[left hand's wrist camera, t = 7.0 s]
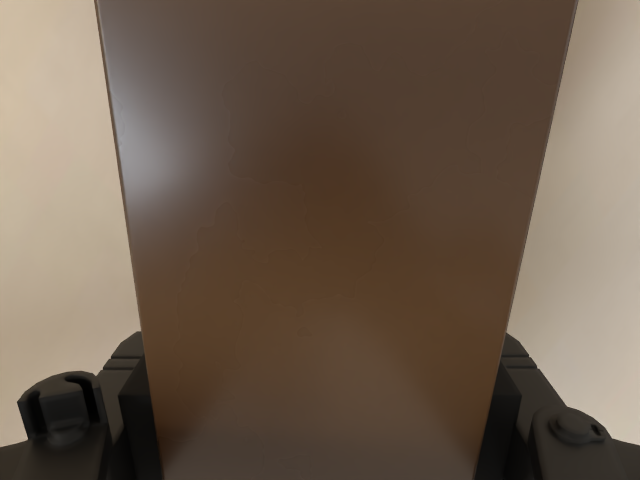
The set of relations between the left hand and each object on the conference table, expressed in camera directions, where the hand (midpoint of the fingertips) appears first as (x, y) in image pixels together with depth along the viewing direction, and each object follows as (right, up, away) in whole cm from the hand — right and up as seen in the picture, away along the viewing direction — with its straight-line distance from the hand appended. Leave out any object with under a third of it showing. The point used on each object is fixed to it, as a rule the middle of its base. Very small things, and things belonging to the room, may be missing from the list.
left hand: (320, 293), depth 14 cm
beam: (0, +18, -7) cm, 19 cm away
